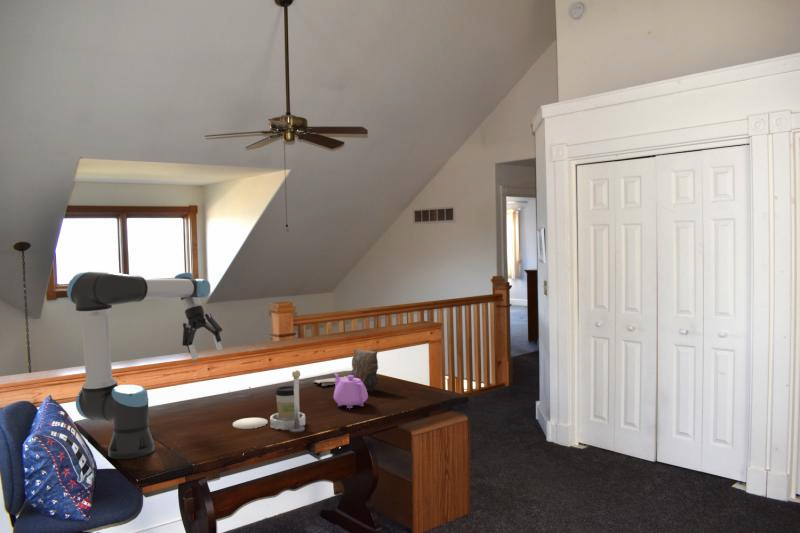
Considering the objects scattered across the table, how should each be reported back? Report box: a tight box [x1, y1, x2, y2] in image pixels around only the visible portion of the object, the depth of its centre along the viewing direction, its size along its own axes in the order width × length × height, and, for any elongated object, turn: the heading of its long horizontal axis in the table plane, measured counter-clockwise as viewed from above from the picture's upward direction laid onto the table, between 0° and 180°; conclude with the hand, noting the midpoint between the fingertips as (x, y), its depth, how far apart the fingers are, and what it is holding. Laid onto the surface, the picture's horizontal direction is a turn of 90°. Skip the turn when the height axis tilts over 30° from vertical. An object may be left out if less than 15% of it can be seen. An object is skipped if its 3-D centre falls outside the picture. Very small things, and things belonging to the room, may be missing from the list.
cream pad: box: [232, 417, 269, 430], centre depth 254 cm, size 14×14×1 cm
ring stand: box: [269, 369, 306, 434], centre depth 249 cm, size 19×14×24 cm
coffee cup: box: [274, 385, 294, 421], centre depth 252 cm, size 10×10×15 cm
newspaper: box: [312, 375, 348, 387], centre depth 330 cm, size 35×12×4 cm, turn 125°
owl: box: [350, 349, 379, 392], centre depth 311 cm, size 13×13×20 cm
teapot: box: [333, 372, 369, 410], centre depth 282 cm, size 22×16×14 cm
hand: (207, 354), depth 263 cm, fingers open, 13 cm apart
